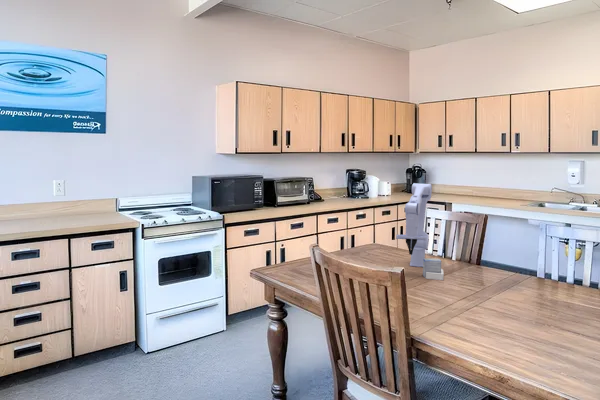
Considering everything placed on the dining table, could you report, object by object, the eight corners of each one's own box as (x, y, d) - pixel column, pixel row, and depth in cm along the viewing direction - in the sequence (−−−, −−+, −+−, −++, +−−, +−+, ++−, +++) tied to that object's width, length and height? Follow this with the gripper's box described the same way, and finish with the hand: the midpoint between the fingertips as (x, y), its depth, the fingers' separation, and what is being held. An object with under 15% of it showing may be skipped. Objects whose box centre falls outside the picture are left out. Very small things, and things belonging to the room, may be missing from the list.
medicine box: (438, 275, 207) (439, 258, 206) (440, 278, 202) (441, 260, 201) (422, 275, 207) (423, 258, 206) (424, 277, 203) (424, 260, 202)
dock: (425, 273, 210) (426, 267, 210) (442, 275, 208) (443, 269, 207) (425, 278, 201) (426, 272, 201) (443, 280, 199) (443, 274, 199)
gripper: (396, 227, 204) (395, 254, 205) (427, 229, 199) (426, 257, 201) (397, 225, 210) (396, 251, 212) (427, 226, 206) (426, 253, 208)
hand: (410, 254), depth 207 cm, fingers closed
